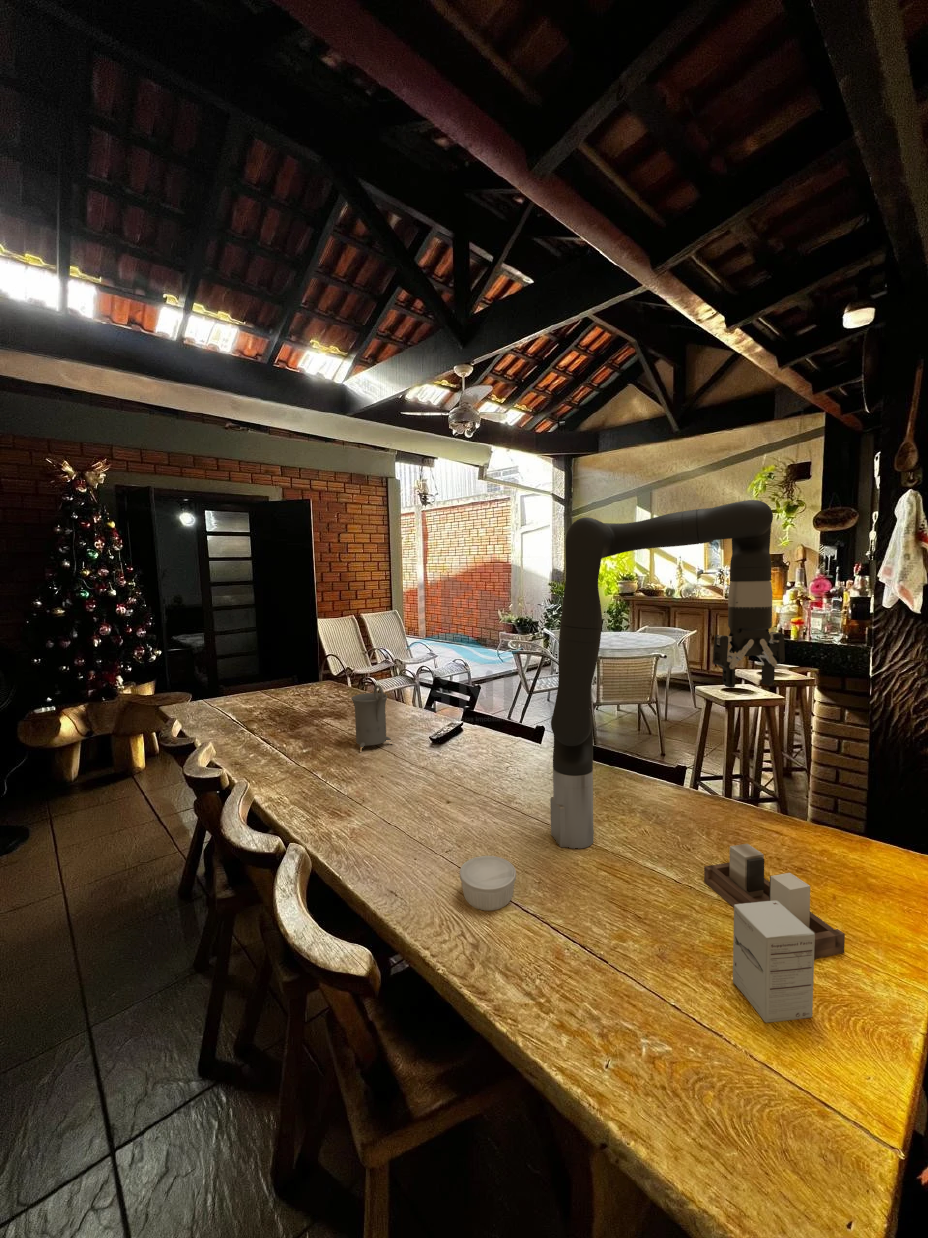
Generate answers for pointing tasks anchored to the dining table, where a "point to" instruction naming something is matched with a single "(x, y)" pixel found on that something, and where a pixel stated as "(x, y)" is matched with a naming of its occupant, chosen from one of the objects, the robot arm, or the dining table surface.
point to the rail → (763, 893)
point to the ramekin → (488, 882)
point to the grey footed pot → (370, 717)
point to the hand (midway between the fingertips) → (748, 685)
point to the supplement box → (773, 960)
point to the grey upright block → (791, 895)
